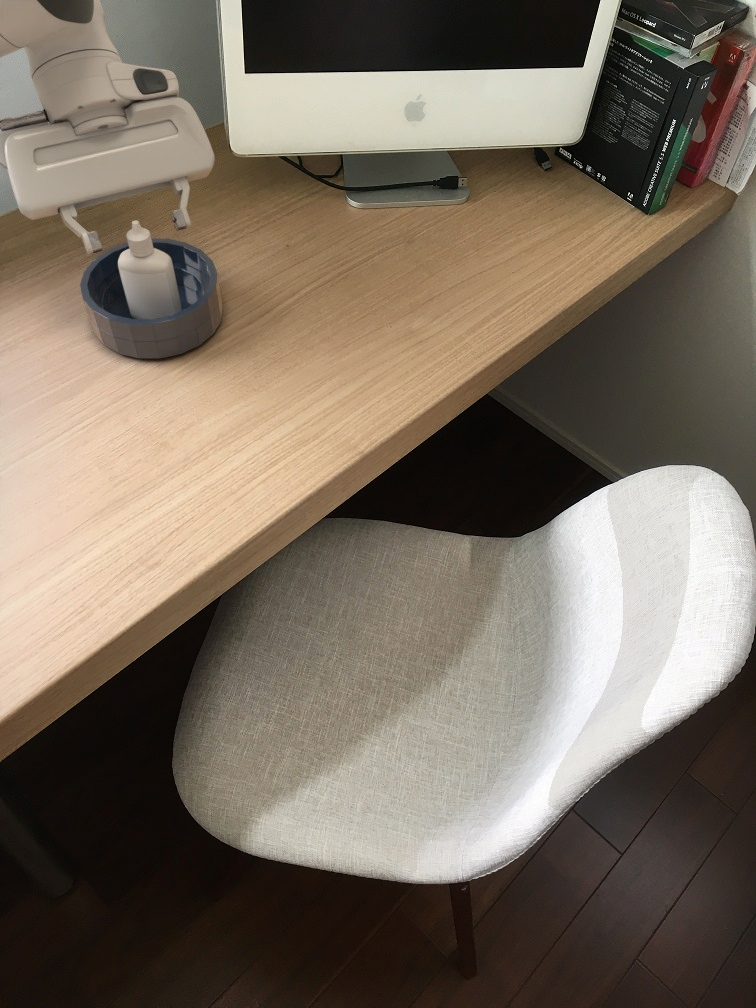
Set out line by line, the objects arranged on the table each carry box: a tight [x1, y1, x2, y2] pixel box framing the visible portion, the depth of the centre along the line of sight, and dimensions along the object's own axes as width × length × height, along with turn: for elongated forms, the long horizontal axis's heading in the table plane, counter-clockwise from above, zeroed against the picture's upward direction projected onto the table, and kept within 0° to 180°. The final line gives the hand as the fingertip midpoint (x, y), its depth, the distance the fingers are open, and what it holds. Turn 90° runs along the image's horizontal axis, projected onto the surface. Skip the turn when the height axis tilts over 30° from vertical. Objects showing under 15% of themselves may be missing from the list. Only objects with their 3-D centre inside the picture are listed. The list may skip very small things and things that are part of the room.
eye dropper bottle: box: [118, 220, 182, 319], centre depth 85 cm, size 4×6×12 cm
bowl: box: [79, 238, 223, 359], centre depth 88 cm, size 15×15×6 cm
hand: (140, 240), depth 81 cm, fingers open, 8 cm apart
